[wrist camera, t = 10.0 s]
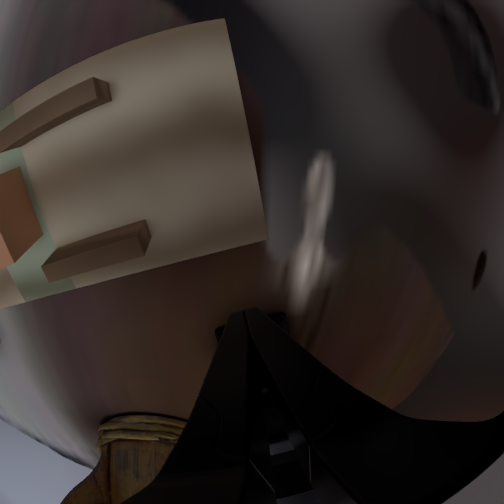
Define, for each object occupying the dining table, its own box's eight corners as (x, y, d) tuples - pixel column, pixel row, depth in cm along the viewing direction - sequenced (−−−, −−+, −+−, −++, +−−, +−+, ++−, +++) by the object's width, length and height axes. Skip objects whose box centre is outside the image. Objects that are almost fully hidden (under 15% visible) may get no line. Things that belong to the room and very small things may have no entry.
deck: (259, 222, 20) (278, 257, 15) (-6, 296, 18) (-30, 330, 14) (220, 33, 14) (229, 1, 9) (-54, 174, 12) (-89, 192, 7)
